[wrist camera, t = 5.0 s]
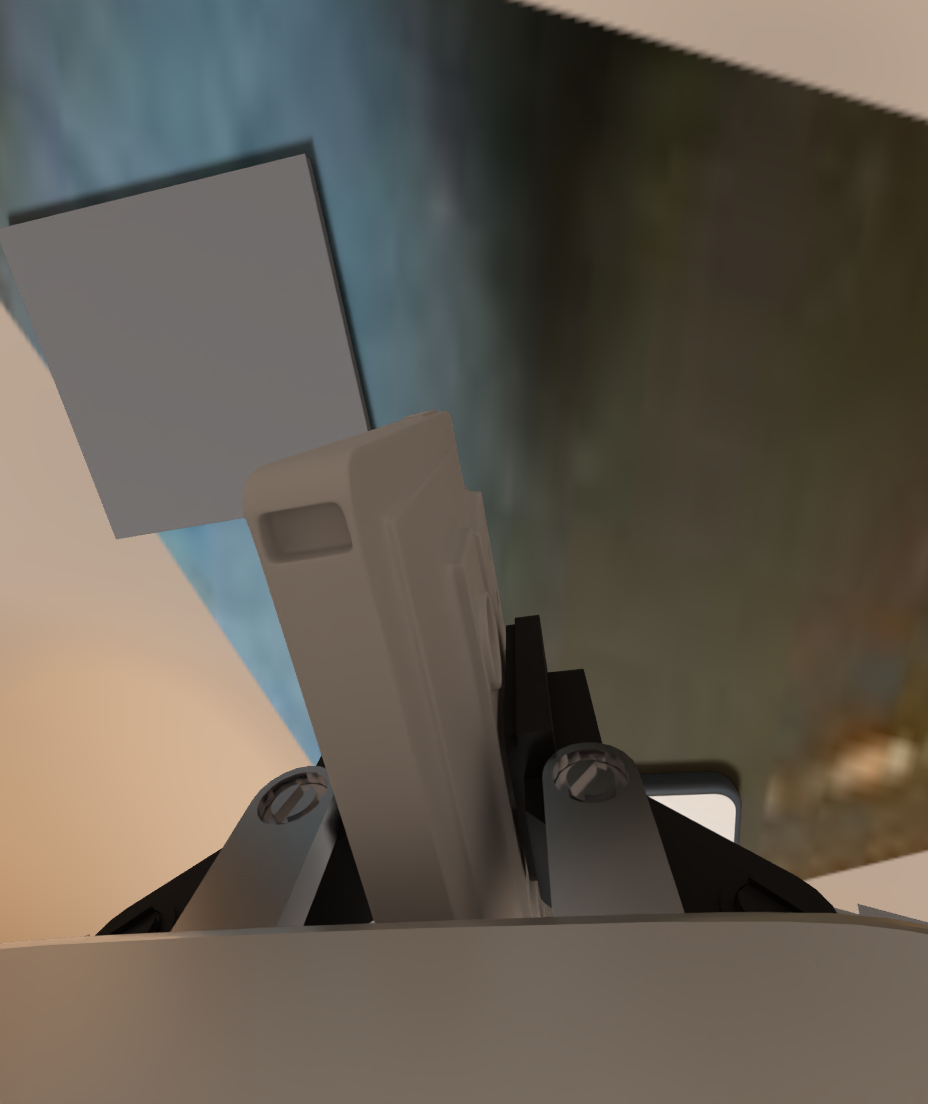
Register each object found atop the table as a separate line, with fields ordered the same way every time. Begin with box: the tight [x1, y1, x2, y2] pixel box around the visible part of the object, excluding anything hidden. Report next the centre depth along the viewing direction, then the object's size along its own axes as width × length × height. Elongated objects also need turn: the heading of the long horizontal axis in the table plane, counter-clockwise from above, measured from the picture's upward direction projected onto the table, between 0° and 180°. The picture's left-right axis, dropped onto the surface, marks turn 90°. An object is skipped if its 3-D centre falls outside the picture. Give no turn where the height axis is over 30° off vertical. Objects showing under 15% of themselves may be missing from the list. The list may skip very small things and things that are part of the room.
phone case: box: [640, 772, 742, 845], centre depth 27 cm, size 9×2×16 cm
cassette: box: [243, 410, 545, 923], centre depth 9 cm, size 12×2×8 cm, turn 10°
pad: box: [0, 154, 371, 539], centre depth 20 cm, size 12×12×1 cm
